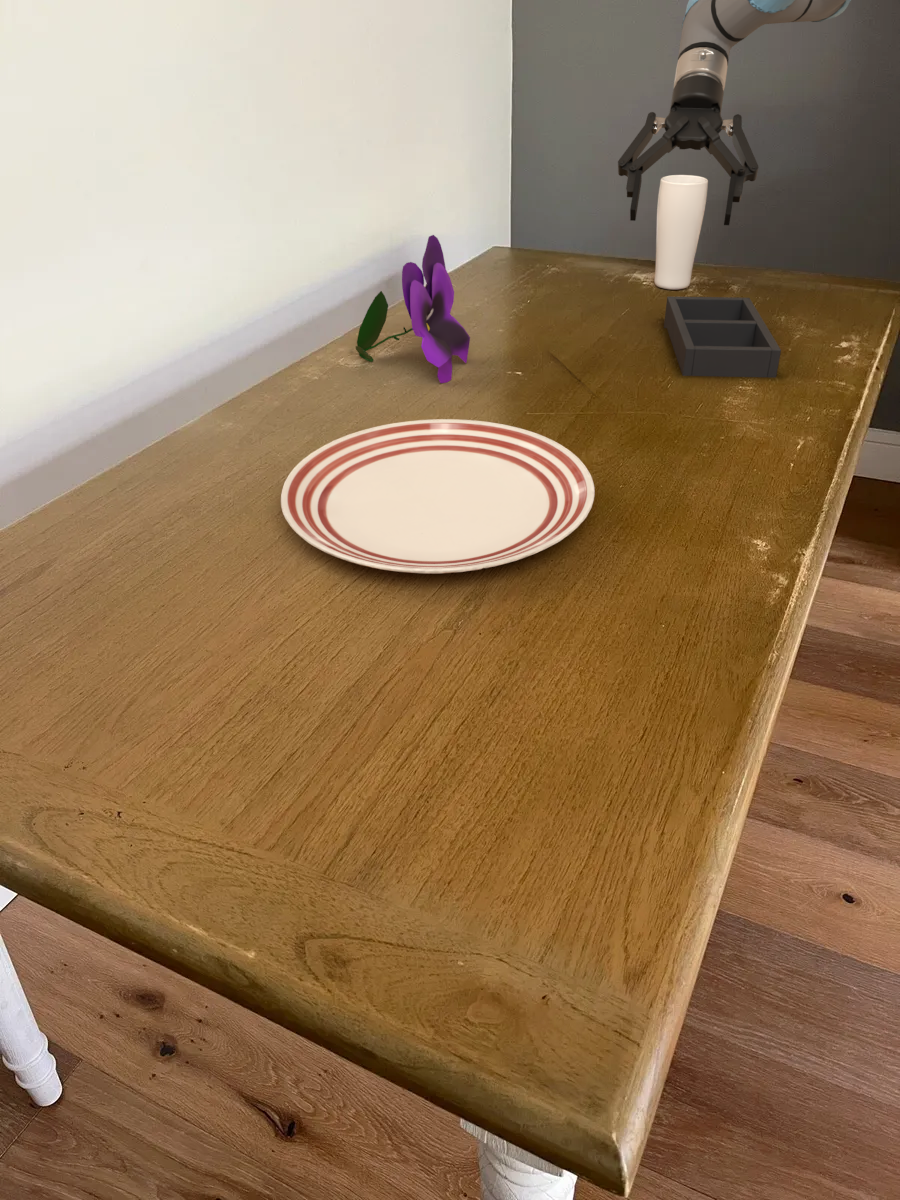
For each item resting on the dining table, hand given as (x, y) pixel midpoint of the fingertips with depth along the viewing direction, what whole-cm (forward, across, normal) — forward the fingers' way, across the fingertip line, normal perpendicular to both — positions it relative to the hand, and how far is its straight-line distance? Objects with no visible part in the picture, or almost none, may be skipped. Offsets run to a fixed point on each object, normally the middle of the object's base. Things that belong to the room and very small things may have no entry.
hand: (679, 217), depth 140 cm
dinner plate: (+62, -15, -49) cm, 81 cm away
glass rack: (+29, +7, -16) cm, 34 cm away
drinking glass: (+8, 0, +6) cm, 10 cm away
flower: (+38, -29, -24) cm, 53 cm away
